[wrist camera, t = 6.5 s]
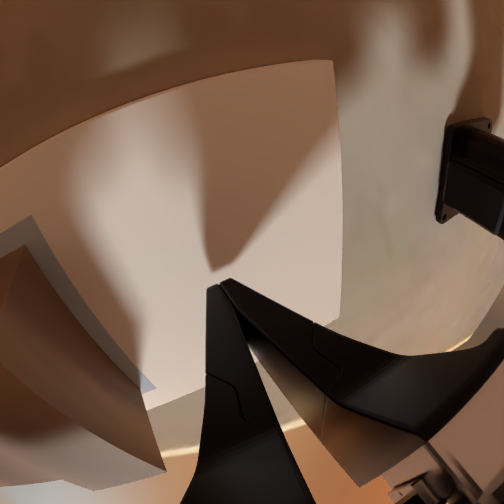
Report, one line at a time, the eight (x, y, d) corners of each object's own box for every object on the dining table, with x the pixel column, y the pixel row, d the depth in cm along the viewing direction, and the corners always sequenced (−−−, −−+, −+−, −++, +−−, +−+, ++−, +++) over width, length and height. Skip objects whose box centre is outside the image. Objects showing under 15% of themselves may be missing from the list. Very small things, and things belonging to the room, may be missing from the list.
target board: (313, 59, 8) (333, 60, 8) (328, 305, 16) (339, 317, 15) (-116, 270, 4) (-125, 286, 3) (40, 428, 11) (41, 443, 11)
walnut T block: (24, 244, 6) (-7, 357, 3) (140, 389, 11) (166, 471, 8) (-93, 325, 5) (-118, 409, 2) (23, 429, 10) (31, 499, 7)
